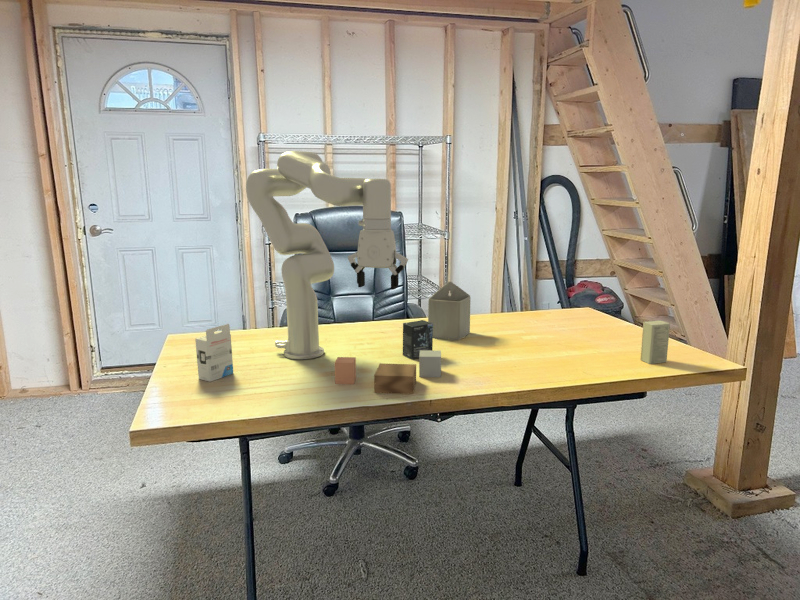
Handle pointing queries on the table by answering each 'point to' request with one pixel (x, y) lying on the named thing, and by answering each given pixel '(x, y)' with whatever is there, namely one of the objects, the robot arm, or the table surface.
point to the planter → (449, 312)
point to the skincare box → (655, 341)
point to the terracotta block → (345, 370)
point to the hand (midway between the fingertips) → (377, 287)
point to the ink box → (214, 354)
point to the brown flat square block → (395, 378)
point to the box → (417, 338)
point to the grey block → (429, 363)
